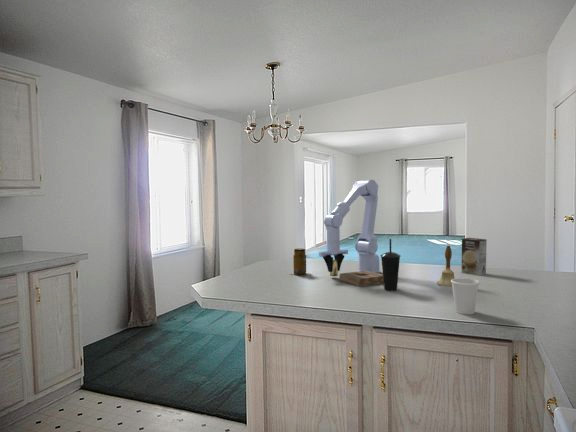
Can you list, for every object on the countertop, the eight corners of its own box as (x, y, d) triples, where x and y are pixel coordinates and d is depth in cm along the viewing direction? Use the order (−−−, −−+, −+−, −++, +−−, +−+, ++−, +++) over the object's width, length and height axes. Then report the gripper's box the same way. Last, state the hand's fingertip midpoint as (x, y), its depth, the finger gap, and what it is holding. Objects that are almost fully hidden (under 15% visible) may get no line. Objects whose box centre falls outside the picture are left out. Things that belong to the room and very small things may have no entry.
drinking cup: (401, 288, 170) (401, 238, 169) (399, 292, 163) (399, 240, 162) (381, 286, 173) (381, 237, 172) (379, 291, 166) (379, 239, 165)
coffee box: (460, 272, 200) (460, 238, 199) (468, 271, 203) (468, 237, 202) (478, 275, 192) (479, 240, 191) (486, 273, 196) (487, 239, 195)
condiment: (300, 272, 209) (300, 247, 208) (312, 274, 202) (312, 249, 202) (289, 274, 204) (288, 249, 203) (301, 276, 198) (300, 250, 197)
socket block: (365, 277, 193) (365, 270, 193) (385, 282, 181) (385, 275, 181) (339, 280, 187) (339, 273, 187) (359, 286, 175) (359, 279, 174)
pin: (335, 274, 195) (334, 259, 195) (339, 275, 192) (339, 260, 192) (328, 275, 193) (328, 260, 193) (332, 276, 190) (332, 261, 190)
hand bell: (459, 283, 178) (459, 244, 177) (457, 287, 170) (458, 247, 169) (438, 281, 181) (438, 244, 180) (436, 285, 174) (436, 246, 173)
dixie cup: (450, 314, 133) (450, 282, 133) (450, 307, 141) (450, 277, 141) (480, 316, 130) (480, 284, 130) (478, 309, 138) (478, 278, 138)
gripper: (341, 239, 199) (342, 268, 199) (314, 241, 192) (315, 271, 193) (350, 240, 192) (351, 270, 193) (323, 243, 186) (323, 274, 187)
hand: (333, 271), depth 193 cm, fingers closed on pin, 3 cm apart
